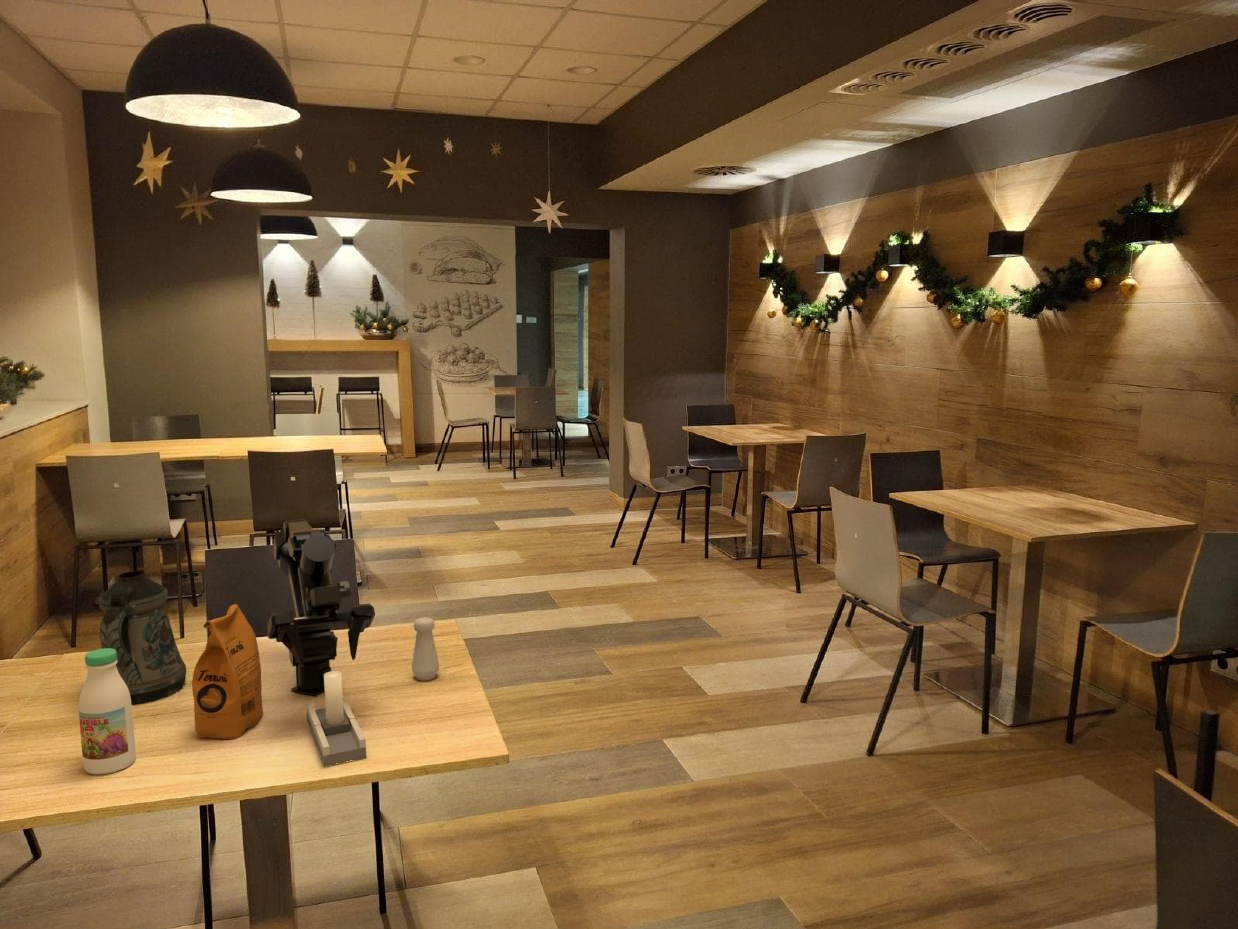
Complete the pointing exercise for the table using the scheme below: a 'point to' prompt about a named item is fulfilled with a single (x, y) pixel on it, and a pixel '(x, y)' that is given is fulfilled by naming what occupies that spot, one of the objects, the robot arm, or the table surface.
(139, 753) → the table surface
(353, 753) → the fader console
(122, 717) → the milk bottle
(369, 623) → the robot arm
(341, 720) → the fader slider
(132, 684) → the beer stein
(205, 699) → the coffee package
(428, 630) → the salt shaker
